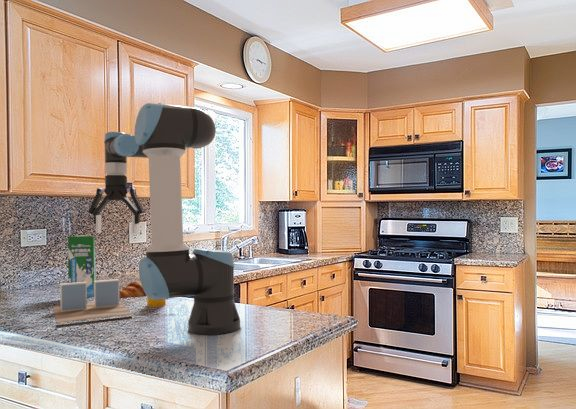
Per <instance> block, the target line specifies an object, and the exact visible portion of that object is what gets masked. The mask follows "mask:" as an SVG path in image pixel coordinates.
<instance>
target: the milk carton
mask: <svg viewBox="0 0 576 409" xmlns="http://www.w3.org/2000/svg"><path fill="white" fill-rule="evenodd" d="M67 254H68V255H67V256H68V258H67V261H68V263H67V264H68V269H67V270H68V283H74V282H87V299H91V298H93V299H94V281H97V280H96V279H97V278H96V276H97V275H96V269H97V268H96V239H95V237H94V235H76V236H68V237H67Z"/></svg>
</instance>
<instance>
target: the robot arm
mask: <svg viewBox="0 0 576 409" xmlns="http://www.w3.org/2000/svg"><path fill="white" fill-rule="evenodd" d="M216 129H217V128H216V124H215V121H214V120H213V117H212V116H210V114H209V113H207V112H206V111H205V110H202V109H201V108H198V107H195V106H194V107H193V106H184V105H183V106H182V105H175V104H169V103H168V104H167V103H162V102H159V103H154V102H148V103H145V104H143V105H142V106H141V108H140V109H139V111H138V113H137V116H136V119H135V124H134V135H133V134H131V133H125V132H121V131H107V132H106V133H105V135H104V141H103V142H104V143H103V144H104V173H105V174H106V175H105V176H104V183H105V184H104V186H105V188H101V187H97V188H96V193H95V196H94V198H93V200H92V202H91V205H90V206H89V209H88V211H87V212H88V213H89V214H90V215H93V224H94V225H95V234H100V233H102V215H101V213H102V211H103V209H105V207H106V206H107V205H108V203H110V202H111V201H122V202H123V203H124V204H125V205H126V207H128V209H129V211H131V212H132V213H133V214H132V215H131V233H132V234H137V233H138V225H139V224H140V215H142V214H144V213H145V209H144V206H143V205H142V203H141V200H140V199H139V196H138V194H137V190H136V188H135V187H130V188H128V177H127V175H126V174H128V173H127V172H128V169H127V167H128V165H127V164H128V163H127V162H128V160H127V159H128V158H143V159H145V158H147V159H148V176H149V178H148V180H149V181H148V182H149V208H150V209H149V211H150V236H151V237H150V238H151V242H150V243H151V244H150V246H149V247H148V248H147V249H146V250H145V255H146V256H144V257H143V258H141V259H140V260H139V264H138V265H139V266H138V274H139V275H138V276H139V280H140V281H139V282H141V285H142V287H143V290H144V292H145V294H146V295H145V296H146V297H147V296H148V297H149V298H150V299H153V300H158V299H165V301H167V300H168V299H175V298H181V297H189V296H190V297H191V296H193V305H192V308H191V311H190V315H189V318H188V322H187V328H188V331H189V332H190V333H193V334H195V335H196V334H197V335H209V336H210V335H212V336H213V335H224V334H228V333H232V332H235V331H238V330H239V329H240V328H241V318H240V316H239V312H238V309H237V306H236V303H235V280H234V279H235V276H234V275H235V273H234V272H235V270H234V269H235V263H234V256H233V253H232V252H230V251H226V250H221V249H220V250H219V249H210V248H209V249H208V248H194V249H193V251H192V254H190V248H189V247H188V246H187V245H186V244H185V243H184V232H183V231H184V230H183V229H184V226H183V225H184V224H183V201H182V200H183V198H182V196H183V195H182V175H181V174H182V173H181V172H182V171H181V169H182V168H181V158H182V156H183V155H184V154H185V153H186V150H188V149H194V150H195V149H196V150H197V149H201V148H205V147H207V146H208V145H210V144H211V143H212V142H213V141H214V139H215V136H216V133H217V132H216V131H217V130H216ZM104 194H105V195H104ZM127 194H129V195H130V197H131V198H132V201H133V202H132V201H131V200H130V198H129V197H128V196H127ZM103 195H104V196H105V197H103ZM102 197H103V200H102V201H101V199H102ZM100 201H101V202H100Z"/></svg>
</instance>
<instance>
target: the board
mask: <svg viewBox="0 0 576 409" xmlns="http://www.w3.org/2000/svg"><path fill="white" fill-rule="evenodd" d="M52 309H53V313H54V319H55V324H56V325H55V328H56V329H57V328H64V327H75V326H82V325H91V324H98V323H99V324H100V323H109V322H115V321H123V320H124V321H125V320H132V319H133V316H132V315H133V314H132V312H131V311H130V310H129V309H128V307H126V305H125V304H124V303H123V302H122V301H121V300H120V299H119V306H111V307H102V308H94V302H89V303H88V302H87V309H83V310H74V311H64V312H61V307H60V305H59V306H53V307H52ZM129 315H130V316H129ZM120 316H122V317H120ZM112 317H114V318H112ZM101 318H105V319H101ZM93 319H99V320H93ZM85 320H86V321H85ZM87 320H88V321H87ZM89 320H90V321H89ZM77 321H82V322H77ZM69 322H70V323H69ZM71 322H73V323H71ZM58 323H64V324H58Z"/></svg>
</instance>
